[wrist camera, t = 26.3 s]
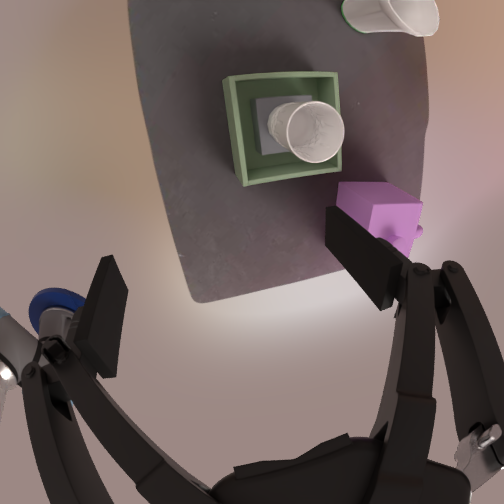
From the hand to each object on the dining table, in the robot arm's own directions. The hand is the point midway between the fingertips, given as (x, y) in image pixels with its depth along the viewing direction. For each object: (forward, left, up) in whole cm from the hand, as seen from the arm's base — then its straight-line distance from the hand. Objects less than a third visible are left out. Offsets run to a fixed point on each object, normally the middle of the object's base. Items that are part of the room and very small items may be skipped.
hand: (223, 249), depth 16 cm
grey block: (+14, +3, -31) cm, 34 cm away
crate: (+14, +3, -32) cm, 35 cm away
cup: (+33, +25, -32) cm, 52 cm away
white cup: (+14, +3, -27) cm, 31 cm away
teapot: (+30, -18, -32) cm, 47 cm away
